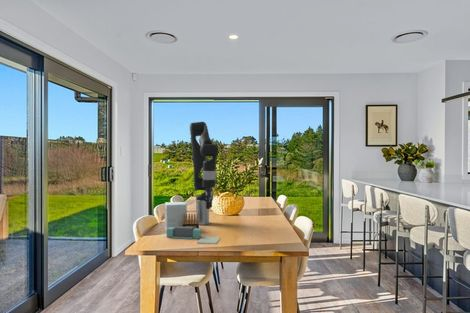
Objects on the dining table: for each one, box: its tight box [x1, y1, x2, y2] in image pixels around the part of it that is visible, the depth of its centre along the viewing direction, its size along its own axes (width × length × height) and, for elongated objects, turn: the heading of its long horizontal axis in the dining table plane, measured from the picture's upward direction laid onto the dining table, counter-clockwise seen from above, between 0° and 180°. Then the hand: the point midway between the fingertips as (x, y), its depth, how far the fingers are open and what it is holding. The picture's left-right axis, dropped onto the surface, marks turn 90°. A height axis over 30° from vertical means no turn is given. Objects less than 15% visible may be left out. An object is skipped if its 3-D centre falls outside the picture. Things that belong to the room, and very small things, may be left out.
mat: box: [196, 236, 221, 245], centre depth 189 cm, size 12×11×1 cm
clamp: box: [166, 227, 202, 240], centre depth 197 cm, size 8×20×5 cm, turn 81°
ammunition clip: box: [182, 212, 200, 229], centre depth 211 cm, size 11×2×12 cm, turn 96°
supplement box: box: [164, 201, 188, 233], centre depth 218 cm, size 13×13×18 cm
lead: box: [174, 226, 194, 239], centre depth 198 cm, size 4×11×6 cm, turn 82°
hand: (209, 207), depth 189 cm, fingers open, 4 cm apart
